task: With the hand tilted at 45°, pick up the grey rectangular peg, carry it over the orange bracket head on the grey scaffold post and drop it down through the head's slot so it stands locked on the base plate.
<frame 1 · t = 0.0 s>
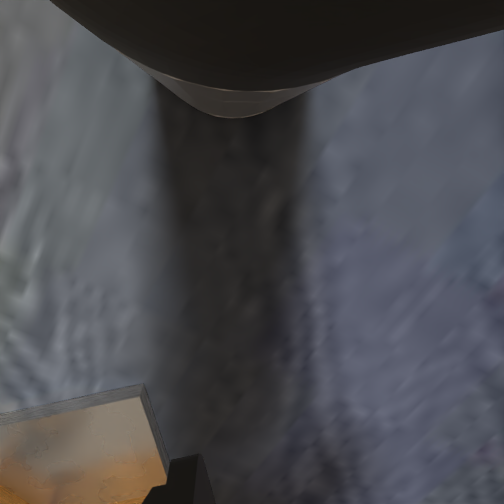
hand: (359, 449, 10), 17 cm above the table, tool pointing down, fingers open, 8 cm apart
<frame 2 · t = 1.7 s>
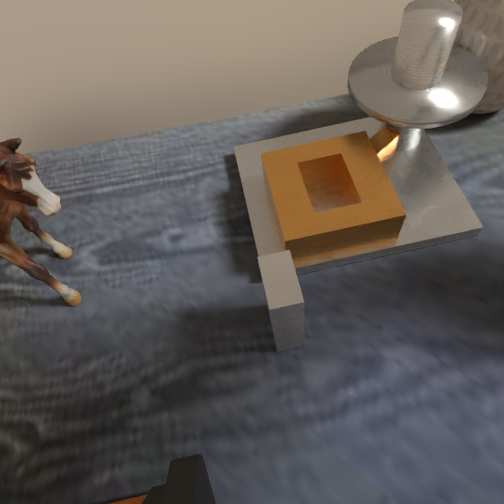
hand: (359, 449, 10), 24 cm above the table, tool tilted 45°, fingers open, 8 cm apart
grey rectangular peg: (285, 326, 38), on the table
horse figurine: (49, 223, 47), on the table
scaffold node: (343, 191, 45), on the table
vase: (474, 98, 50), on the table
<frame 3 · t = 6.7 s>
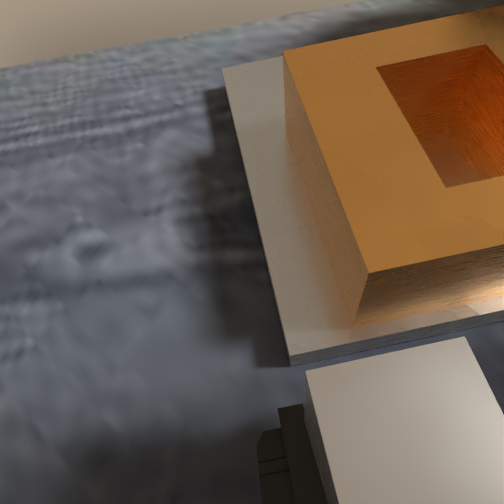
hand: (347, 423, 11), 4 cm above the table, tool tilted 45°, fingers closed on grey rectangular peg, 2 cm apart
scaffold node: (456, 153, 21), on the table
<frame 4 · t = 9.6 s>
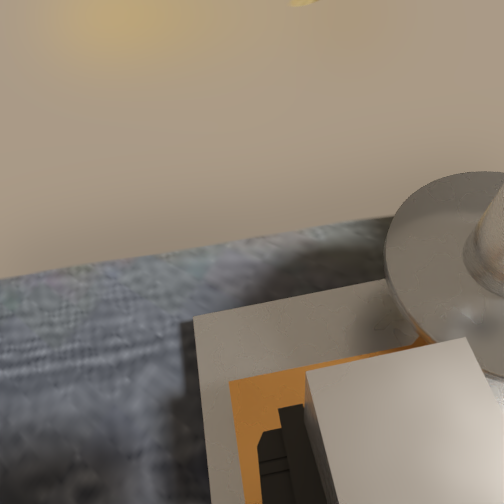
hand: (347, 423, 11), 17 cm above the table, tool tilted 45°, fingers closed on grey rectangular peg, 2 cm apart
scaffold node: (368, 415, 27), on the table
when the fingers open (12 cm above the table, at t = 12.2 s): grey rectangular peg drops 6 cm, resting on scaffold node.
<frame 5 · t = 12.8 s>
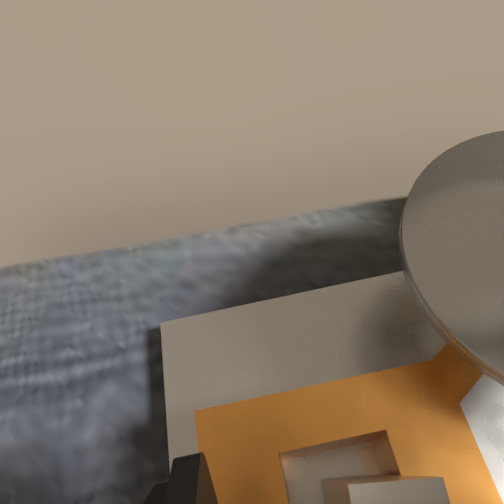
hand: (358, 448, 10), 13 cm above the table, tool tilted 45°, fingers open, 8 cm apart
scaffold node: (380, 445, 21), on the table
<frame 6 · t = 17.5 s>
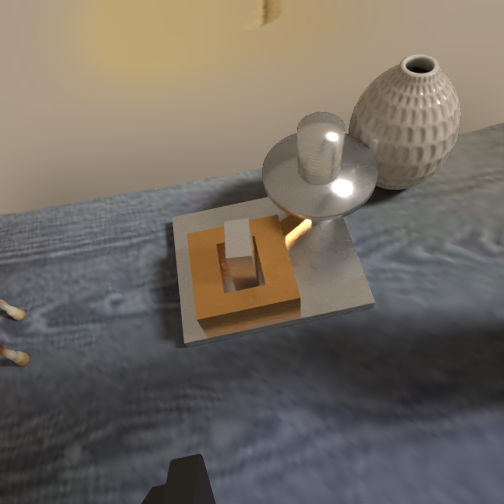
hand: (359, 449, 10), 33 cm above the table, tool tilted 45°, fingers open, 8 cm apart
grey rectangular peg: (248, 283, 48), point 1 cm above the table, touching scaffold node
horse figurine: (7, 285, 53), on the table
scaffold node: (265, 261, 51), on the table
vase: (389, 173, 56), on the table
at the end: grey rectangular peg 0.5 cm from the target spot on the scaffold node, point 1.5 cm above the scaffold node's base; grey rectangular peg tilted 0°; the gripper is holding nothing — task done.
